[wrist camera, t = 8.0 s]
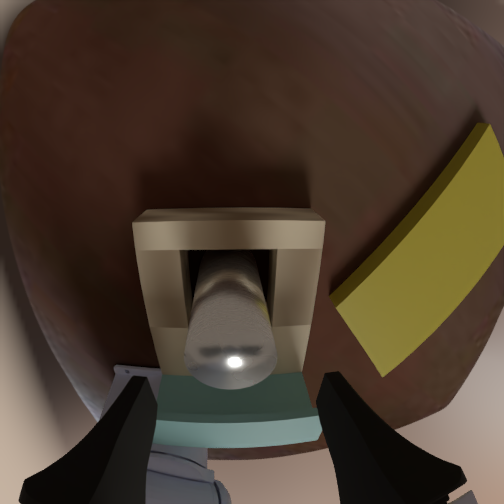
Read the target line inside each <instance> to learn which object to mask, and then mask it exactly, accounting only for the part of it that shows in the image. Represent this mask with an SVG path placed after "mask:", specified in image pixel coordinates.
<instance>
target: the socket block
mask: <svg viewBox="0 0 504 504" xmlns="http://www.w3.org/2000/svg"><path fill="white" fill-rule="evenodd" d="M132 227H133V235H134V243H135V250H136V257H137V264H138V270H139V276H140V282H141V287H142V292H143V298H144V303H145V307H146V312H147V317H148V321H149V326H150V330H151V334H152V338H153V342H154V346H155V350H156V354H157V358H158V361H159V365H160V368H161V372H162V374H163V375H181V376H192V375H191V374H190V372H189V371H188V369H187V367H186V365H185V362H184V352H185V345H186V339H187V333H188V327H189V321H190V316H191V310H192V304H193V301H192V291H191V281H190V269H189V257H188V250H222V249H270V251H269V270H268V289H267V303H266V307H267V311H268V315H269V320H270V324H271V328H272V333H273V337H274V341H275V346H276V350H277V363H276V366H275V368H274V370H273V371H272V373H271V374H270V375H272V374H286V373H297V372H302V368H303V363H304V359H305V354H306V348H307V343H308V338H309V333H310V327H311V321H312V316H313V310H314V304H315V297H316V291H317V284H318V277H319V270H320V263H321V255H322V247H323V239H324V230H325V220H324V219H323V218H321V217H320V216H319V215H318V214H317V213H316V212H315V211H313V210H312V209H311V208H252V207H238V208H177V209H150V210H146V211H144V212H143V213H142V214H141V215H140V216H139V217H138V218H137V219H135V220H134V221H133V222H132Z"/></svg>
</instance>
